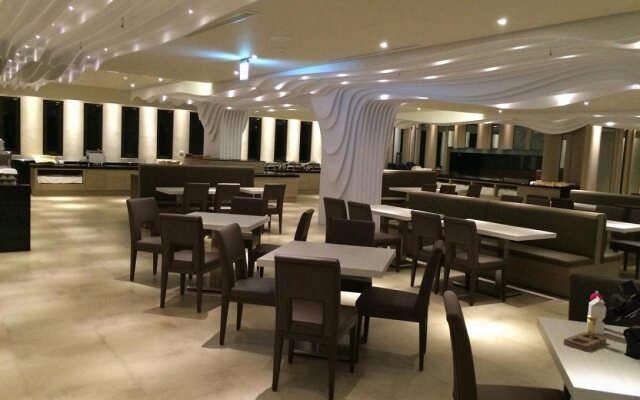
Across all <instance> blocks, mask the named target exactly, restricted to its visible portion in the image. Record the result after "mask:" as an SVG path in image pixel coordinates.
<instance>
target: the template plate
mask: <svg viewBox="0 0 640 400" xmlns="http://www.w3.org/2000/svg"><path fill="white" fill-rule="evenodd" d="M586 333H587V331H586V332H585V331H584V332H581V333H578V334H575V335H573V336H570V337H567V338H564V339H563V345H565V346H567V347H571V348H574V349H577V350H579V351H580V350H581V351H583V352H588V351H591V350H593V349H595V348H598V347H600V346H603V345H605V344H606V343H607V338H606V337H604V336H600V335H598V334H595V340H592V339H589V338H586Z"/></svg>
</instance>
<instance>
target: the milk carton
mask: <svg viewBox="0 0 640 400" xmlns="http://www.w3.org/2000/svg"><path fill="white" fill-rule="evenodd" d="M605 304H606V303H605V301H604V299H602V300H601V301H600V299H599V297H598V296H597V298H596V299H594V300H592V301H589V302H588V312H587V315H588V314H592V315H596V316H598V320H597V324H596V333H595V335H604V333H605V323H603V322H602V320H603V319H604V318H605V317H606V315H607V312H606V310H607V307H606V306H605ZM586 319H587V318H586ZM587 324H588V319H587V320H586V325H587Z"/></svg>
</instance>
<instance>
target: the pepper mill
mask: <svg viewBox="0 0 640 400" xmlns="http://www.w3.org/2000/svg"><path fill="white" fill-rule="evenodd" d="M597 296H598V297H599V299H600V301H601V300H603V296H602V295H601V294H600V292H599V291H598V290H596V291H595V293H592V294H591V295H590V297H589V299H590V300H591V301H592V300H594V299H596V298H597ZM591 301H590V302H591ZM586 319H588V318H587V317H586Z"/></svg>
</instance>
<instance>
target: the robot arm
mask: <svg viewBox="0 0 640 400" xmlns="http://www.w3.org/2000/svg"><path fill="white" fill-rule="evenodd" d="M619 288H620V290H621V291H622V292H623V294H624V295H625V296H626V297H629V298H630V299H628V300H626V299H625V298H624V297H623V296H621V295H620V294H618V293H613V294H612V295H611V296H609V301H610V302H612V303H613V304H615V305H616V306H615V307H613V306H612V307H609V308H606V315H605V318H604V319H603V320H602V322H603V323H613V322H617V321H620V320H625V319H630V318H633V317H635V316H636V315H637V313H638V312H639V311H640V287H638V285H637V284H636V282H635V280H634V279H629V280H628V281H625V282H622V283H621V284H619ZM622 335H623V336H624V339H625V342H626V343H625V344H626V345H625V346H626V347H625V353H623V354H624V356H628V357H629V358H632V359H635V360H640V326H639V325H637V324H636V325H632V326H628V327H627V328H625V329H624V330H623V333H622Z"/></svg>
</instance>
